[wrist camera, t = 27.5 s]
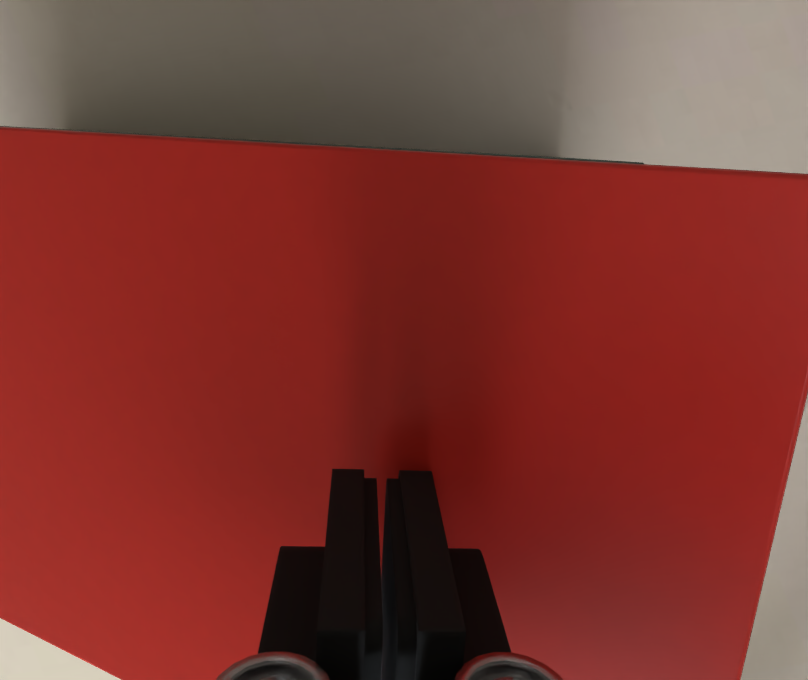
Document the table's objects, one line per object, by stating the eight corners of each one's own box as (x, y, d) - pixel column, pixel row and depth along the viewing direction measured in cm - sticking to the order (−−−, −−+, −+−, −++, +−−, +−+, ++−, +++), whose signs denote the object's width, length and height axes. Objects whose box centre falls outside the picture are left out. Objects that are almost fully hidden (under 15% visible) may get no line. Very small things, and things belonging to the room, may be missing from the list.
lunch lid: (847, 176, 8) (860, 176, 8) (678, 913, 12) (674, 963, 11) (-71, 122, 16) (-111, 120, 15) (-9, 583, 19) (-39, 599, 18)
